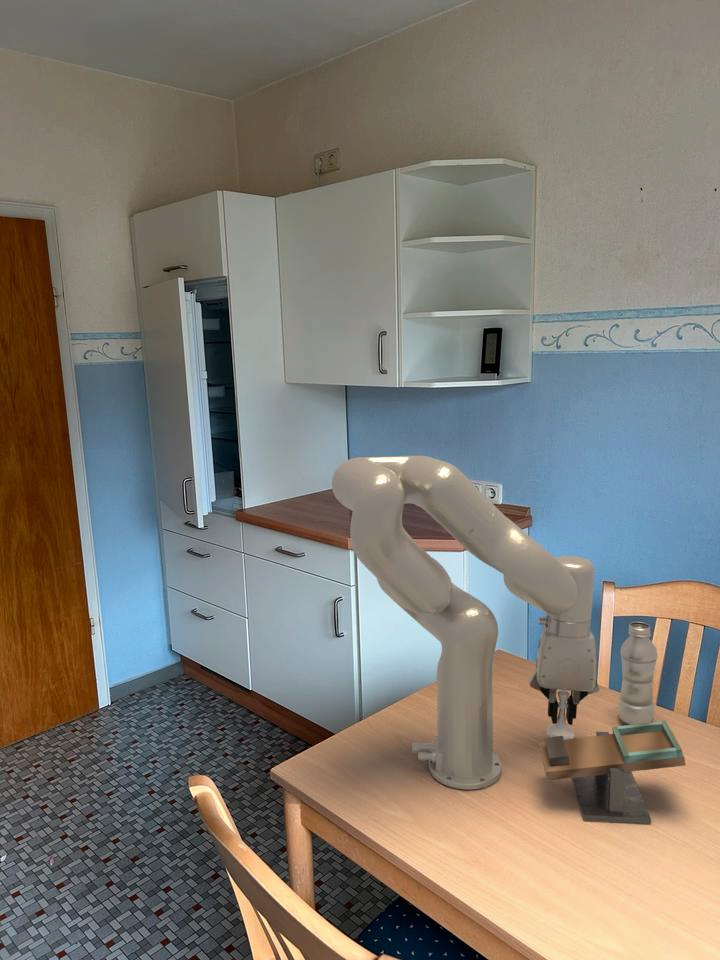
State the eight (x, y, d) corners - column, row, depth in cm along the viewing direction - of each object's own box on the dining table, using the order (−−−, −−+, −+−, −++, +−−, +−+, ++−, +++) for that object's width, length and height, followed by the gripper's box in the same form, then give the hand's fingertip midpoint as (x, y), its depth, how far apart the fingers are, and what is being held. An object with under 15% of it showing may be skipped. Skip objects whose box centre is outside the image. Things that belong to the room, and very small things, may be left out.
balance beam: (548, 786, 114) (543, 764, 113) (541, 754, 122) (537, 733, 122) (686, 771, 110) (683, 748, 110) (669, 739, 119) (666, 718, 118)
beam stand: (583, 820, 112) (584, 773, 110) (570, 771, 124) (571, 728, 123) (650, 824, 110) (652, 776, 109) (630, 774, 123) (632, 730, 122)
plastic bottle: (622, 710, 144) (626, 616, 140) (658, 720, 140) (662, 623, 136) (612, 725, 139) (616, 627, 135) (649, 735, 135) (653, 634, 131)
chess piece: (575, 742, 130) (579, 690, 128) (547, 738, 131) (550, 687, 129) (573, 728, 134) (577, 678, 133) (546, 725, 135) (549, 675, 134)
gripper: (524, 630, 126) (518, 727, 129) (619, 636, 124) (610, 734, 127) (520, 615, 134) (515, 707, 137) (609, 620, 132) (602, 714, 135)
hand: (561, 720), depth 132 cm, fingers closed on chess piece
